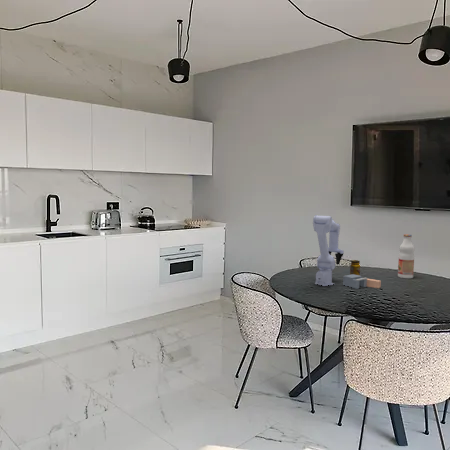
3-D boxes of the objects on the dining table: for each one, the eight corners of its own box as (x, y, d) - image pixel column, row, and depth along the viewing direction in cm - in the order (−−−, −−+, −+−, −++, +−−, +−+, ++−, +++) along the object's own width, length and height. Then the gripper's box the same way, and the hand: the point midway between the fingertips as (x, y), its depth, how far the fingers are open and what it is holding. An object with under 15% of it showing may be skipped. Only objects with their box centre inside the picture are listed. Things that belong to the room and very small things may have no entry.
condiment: (362, 280, 282) (362, 261, 281) (349, 280, 281) (350, 261, 279) (357, 277, 289) (357, 259, 288) (344, 278, 288) (345, 259, 287)
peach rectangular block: (363, 286, 267) (363, 279, 266) (365, 285, 269) (366, 278, 269) (378, 288, 261) (378, 281, 261) (380, 287, 263) (380, 280, 263)
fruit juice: (408, 279, 286) (410, 236, 283) (394, 276, 293) (397, 234, 290) (415, 277, 292) (418, 234, 289) (402, 275, 299) (404, 233, 296)
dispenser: (343, 285, 267) (343, 275, 266) (352, 283, 272) (353, 274, 272) (357, 288, 259) (357, 279, 258) (366, 286, 264) (367, 277, 263)
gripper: (347, 243, 276) (346, 264, 278) (329, 240, 288) (328, 260, 290) (339, 244, 272) (338, 265, 274) (321, 241, 284) (321, 262, 286)
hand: (333, 263), depth 281 cm, fingers open, 7 cm apart
